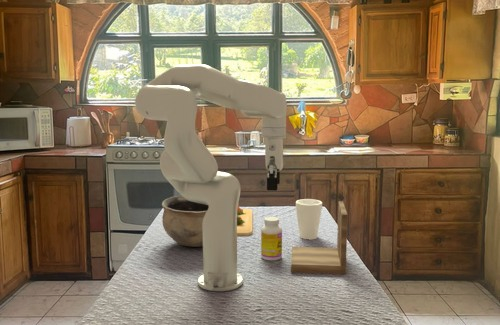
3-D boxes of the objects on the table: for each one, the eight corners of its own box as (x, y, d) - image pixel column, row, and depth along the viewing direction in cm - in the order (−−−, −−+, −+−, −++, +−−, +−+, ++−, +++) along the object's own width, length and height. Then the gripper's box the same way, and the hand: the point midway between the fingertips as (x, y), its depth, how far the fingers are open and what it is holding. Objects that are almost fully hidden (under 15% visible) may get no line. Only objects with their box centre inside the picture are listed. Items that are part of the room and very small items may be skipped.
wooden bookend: (345, 274, 148) (347, 214, 145) (290, 272, 150) (291, 213, 147) (341, 255, 164) (343, 201, 161) (292, 254, 166) (292, 200, 163)
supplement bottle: (279, 262, 158) (279, 222, 156) (258, 260, 160) (258, 220, 158) (283, 255, 165) (284, 216, 163) (263, 253, 166) (263, 215, 164)
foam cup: (291, 238, 182) (291, 203, 180) (301, 231, 190) (301, 198, 188) (316, 242, 178) (316, 206, 175) (325, 235, 186) (325, 200, 184)
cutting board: (198, 212, 220) (198, 195, 219) (252, 212, 220) (252, 195, 219) (188, 237, 186) (188, 217, 185) (252, 237, 186) (252, 217, 185)
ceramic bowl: (236, 249, 172) (237, 206, 169) (175, 258, 161) (176, 212, 158) (208, 230, 191) (209, 191, 188) (152, 237, 180) (153, 196, 177)
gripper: (284, 135, 148) (283, 193, 150) (287, 130, 164) (286, 181, 167) (258, 135, 148) (258, 192, 151) (264, 129, 165) (264, 181, 168)
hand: (273, 186), depth 159 cm, fingers open, 9 cm apart
